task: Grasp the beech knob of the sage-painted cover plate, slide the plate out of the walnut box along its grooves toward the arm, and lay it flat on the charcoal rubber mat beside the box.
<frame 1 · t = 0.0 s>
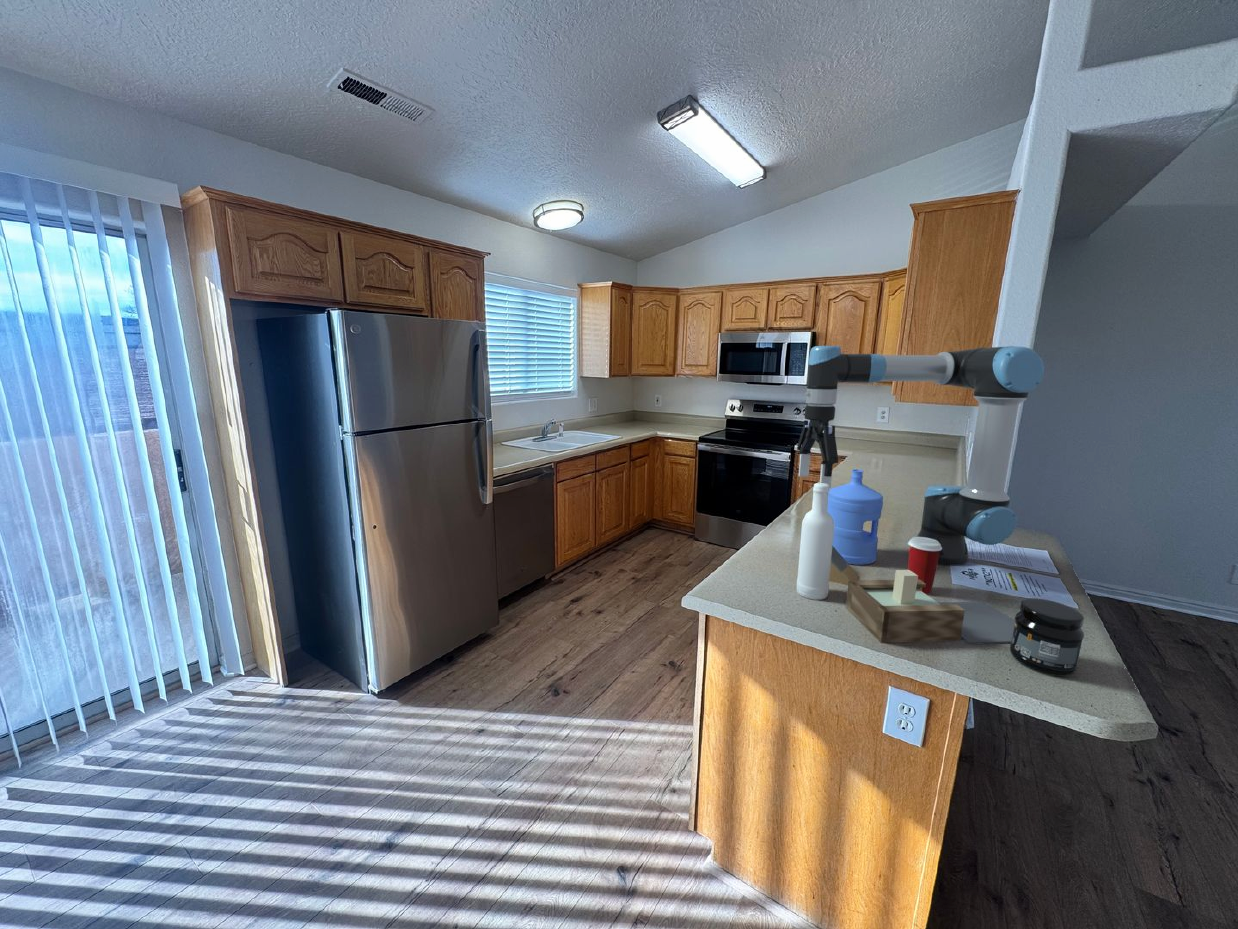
hand: (813, 481, 135), 28 cm above the worktop, fingers open, 13 cm apart
cover plate: (902, 603, 114), point 5 cm above the worktop, touching walnut box
sandwich container: (829, 576, 141), on the worktop
paper cup: (918, 590, 132), on the worktop
walnut box: (899, 623, 115), on the worktop
water jug: (848, 556, 155), on the worktop
bottle: (811, 594, 130), on the worktop
charcoal mat: (977, 621, 116), on the worktop
supplement container: (1040, 663, 100), on the worktop
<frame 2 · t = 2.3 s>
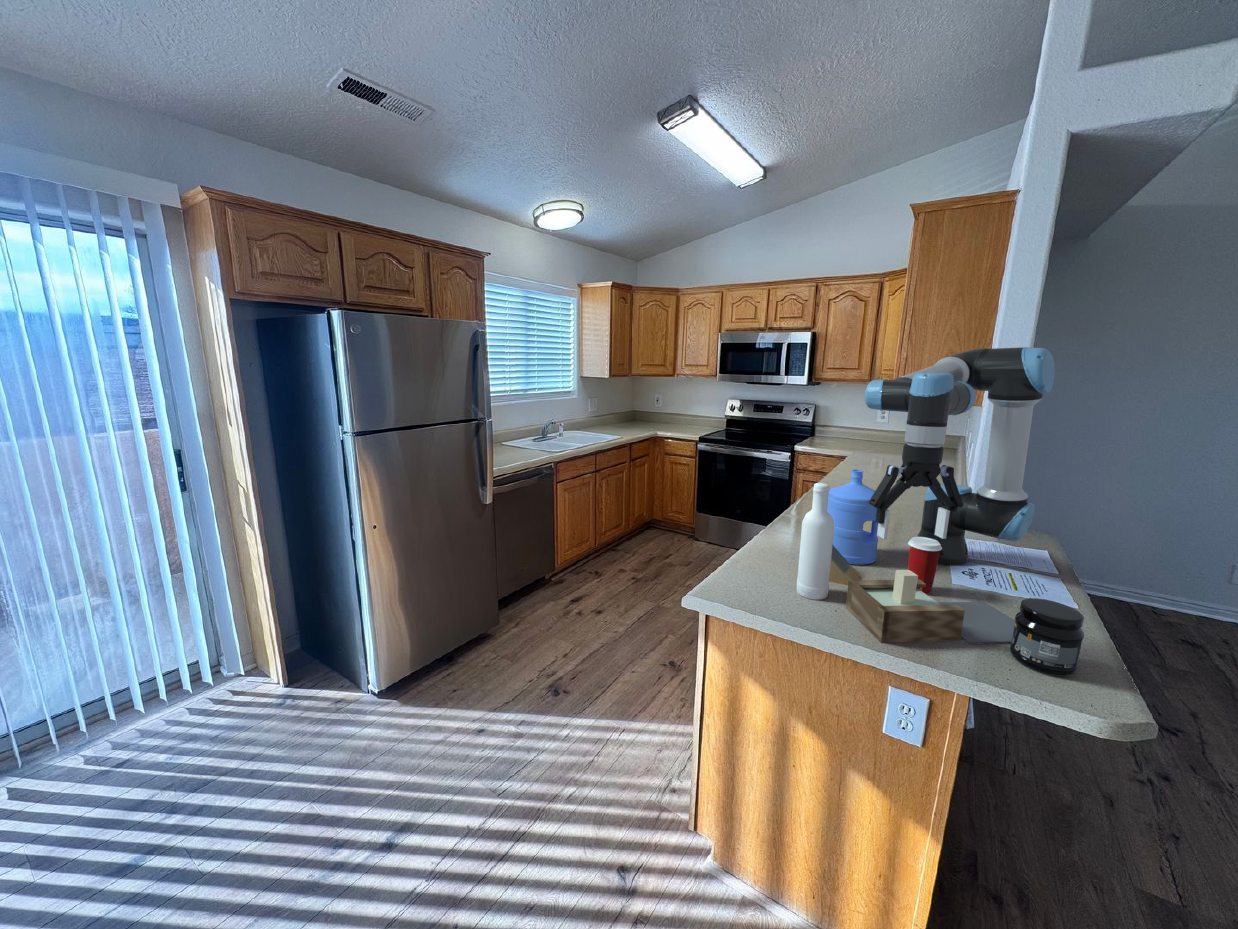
hand: (911, 537, 110), 22 cm above the worktop, fingers open, 13 cm apart
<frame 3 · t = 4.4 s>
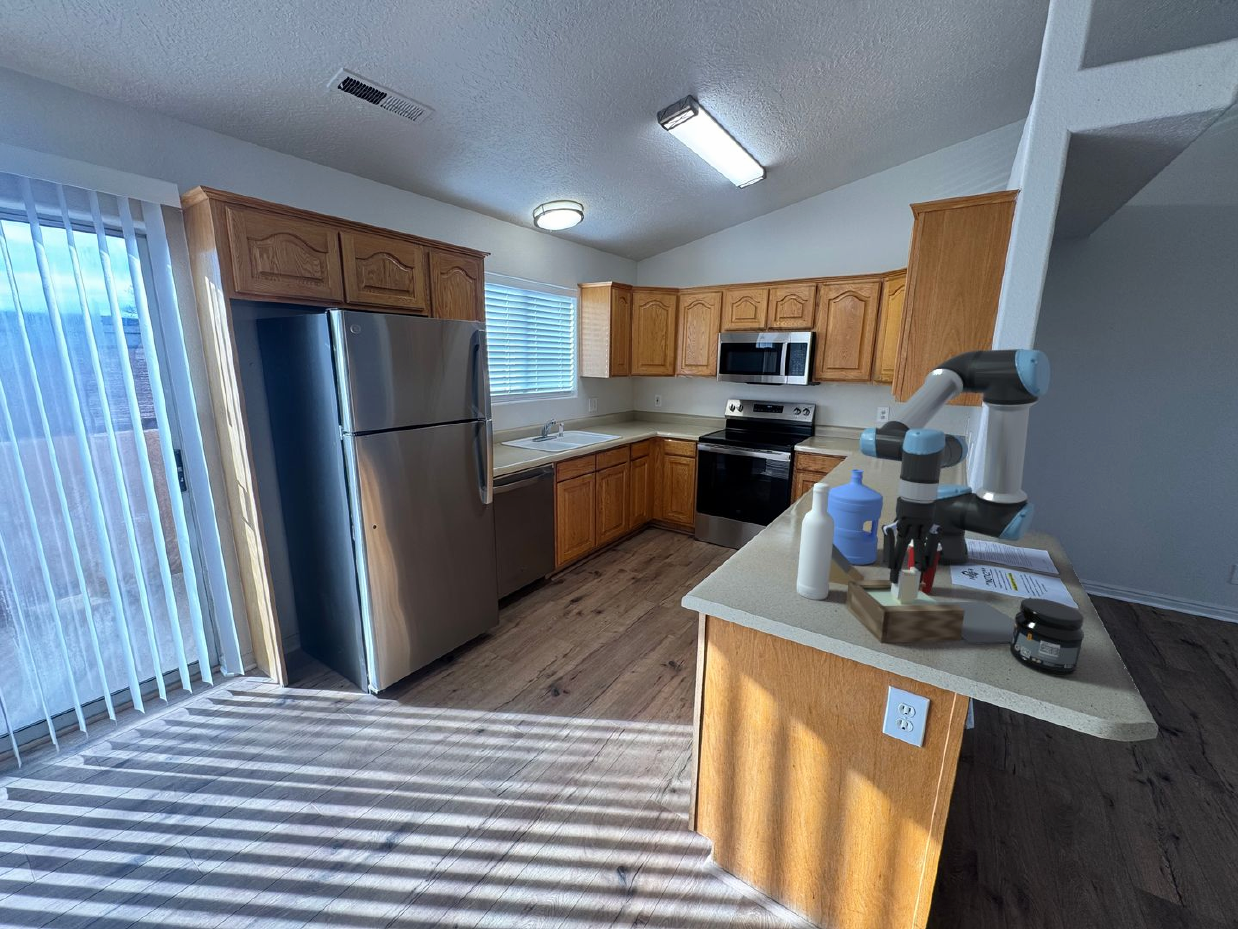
hand: (903, 595, 113), 7 cm above the worktop, fingers closed on cover plate, 3 cm apart
cover plate: (902, 603, 114), point 5 cm above the worktop, touching gripper, walnut box
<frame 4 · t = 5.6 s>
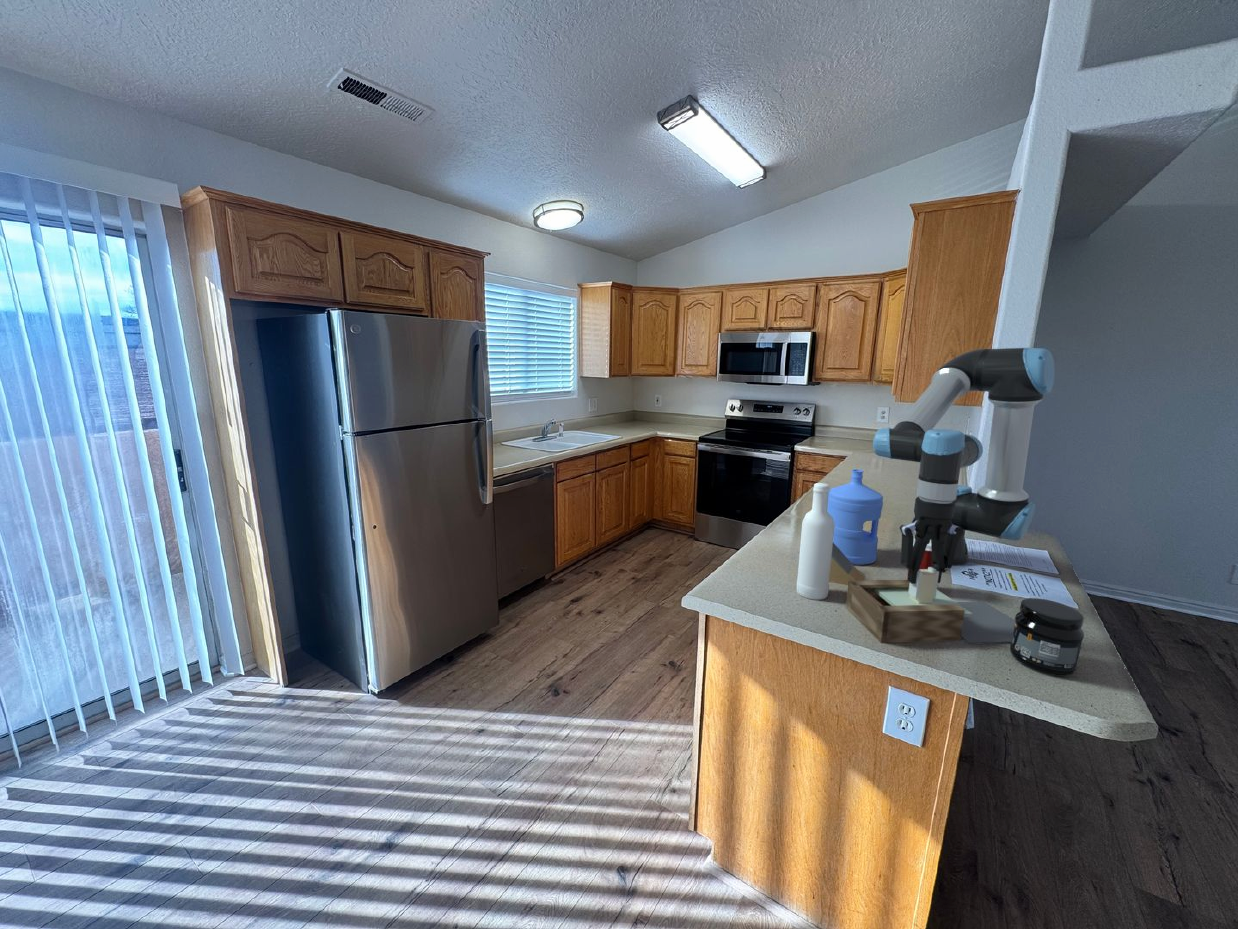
hand: (921, 595, 114), 7 cm above the worktop, fingers closed on cover plate, 3 cm apart
cover plate: (920, 603, 114), point 5 cm above the worktop, touching gripper
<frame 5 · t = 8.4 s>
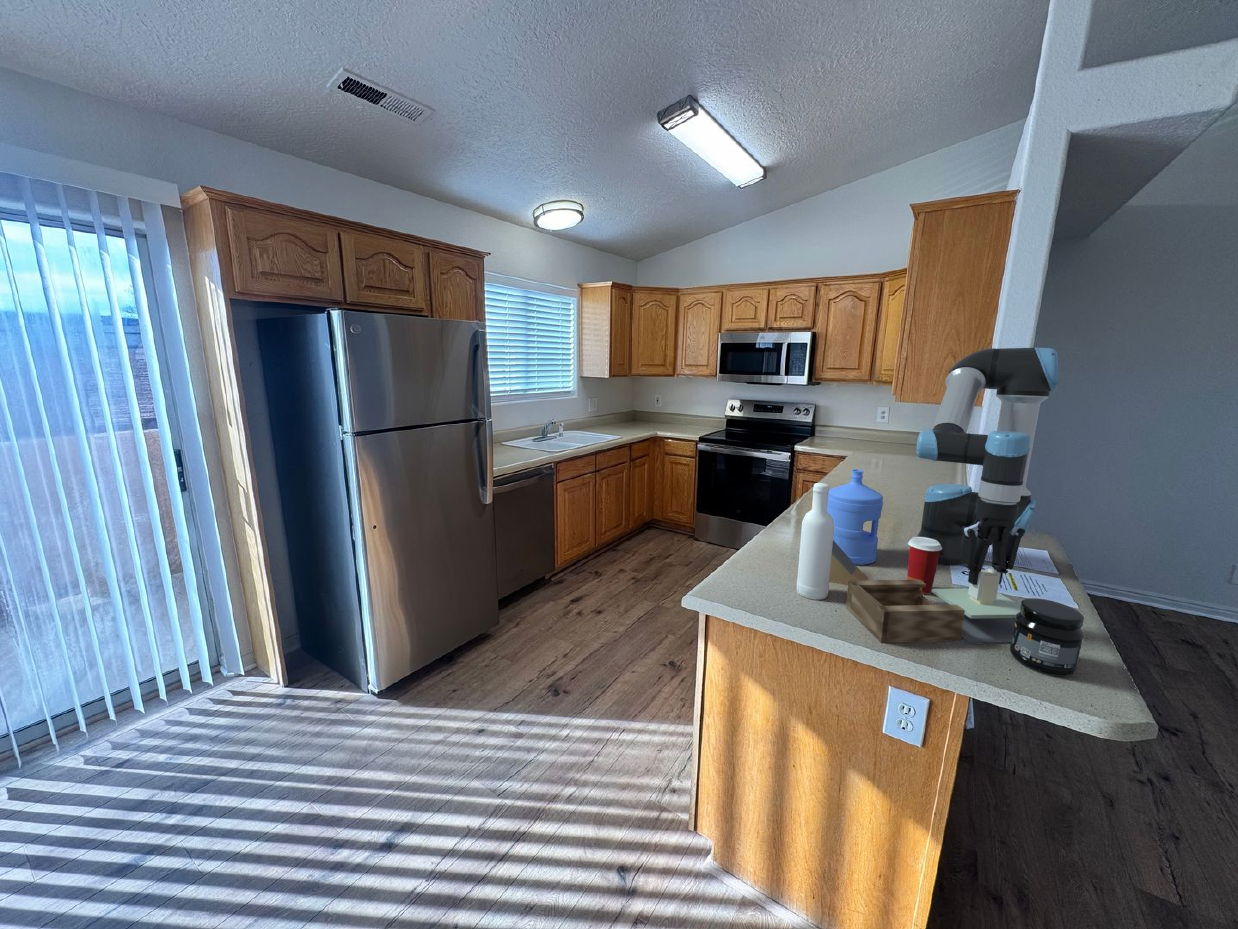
hand: (982, 596, 114), 7 cm above the worktop, fingers closed on cover plate, 3 cm apart
cover plate: (980, 604, 114), point 5 cm above the worktop, touching gripper
when the fingers open (4 cm above the worktop, at t = 9.0 s): cover plate drops 2 cm, resting on charcoal mat.
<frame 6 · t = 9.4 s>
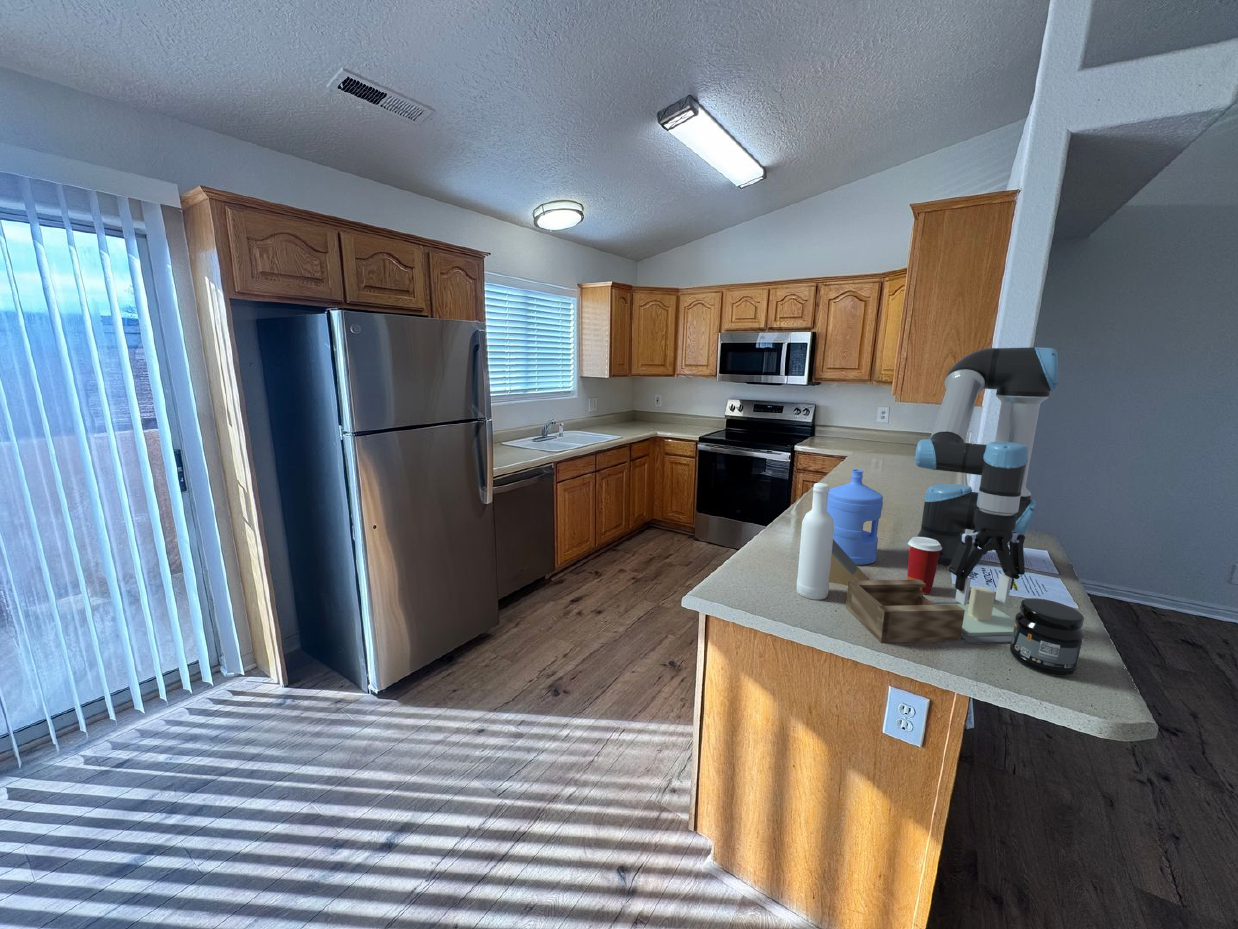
hand: (981, 602, 114), 5 cm above the worktop, fingers open, 9 cm apart
cover plate: (978, 620, 115), resting on charcoal mat
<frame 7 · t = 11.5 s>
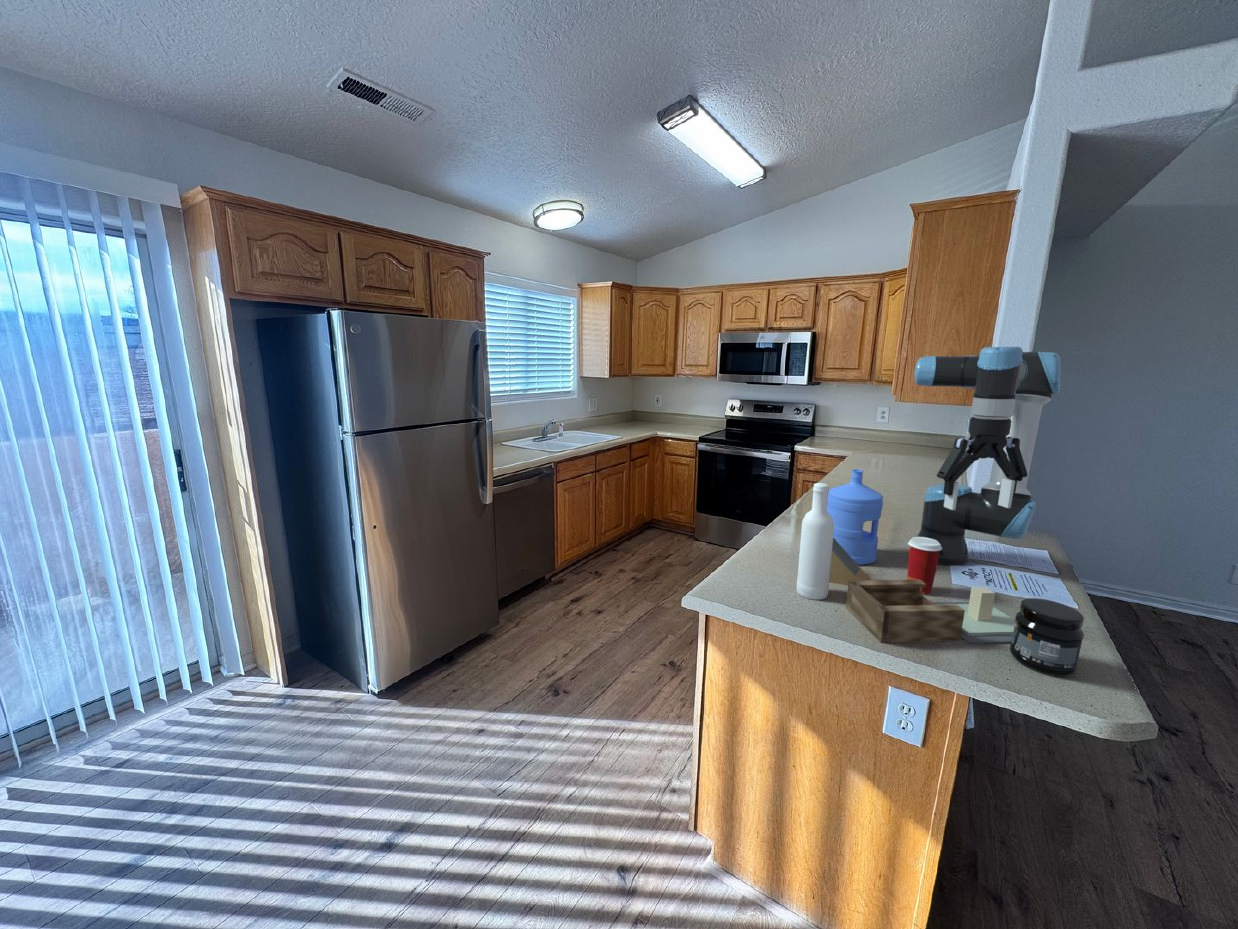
hand: (976, 507, 114), 27 cm above the worktop, fingers open, 13 cm apart
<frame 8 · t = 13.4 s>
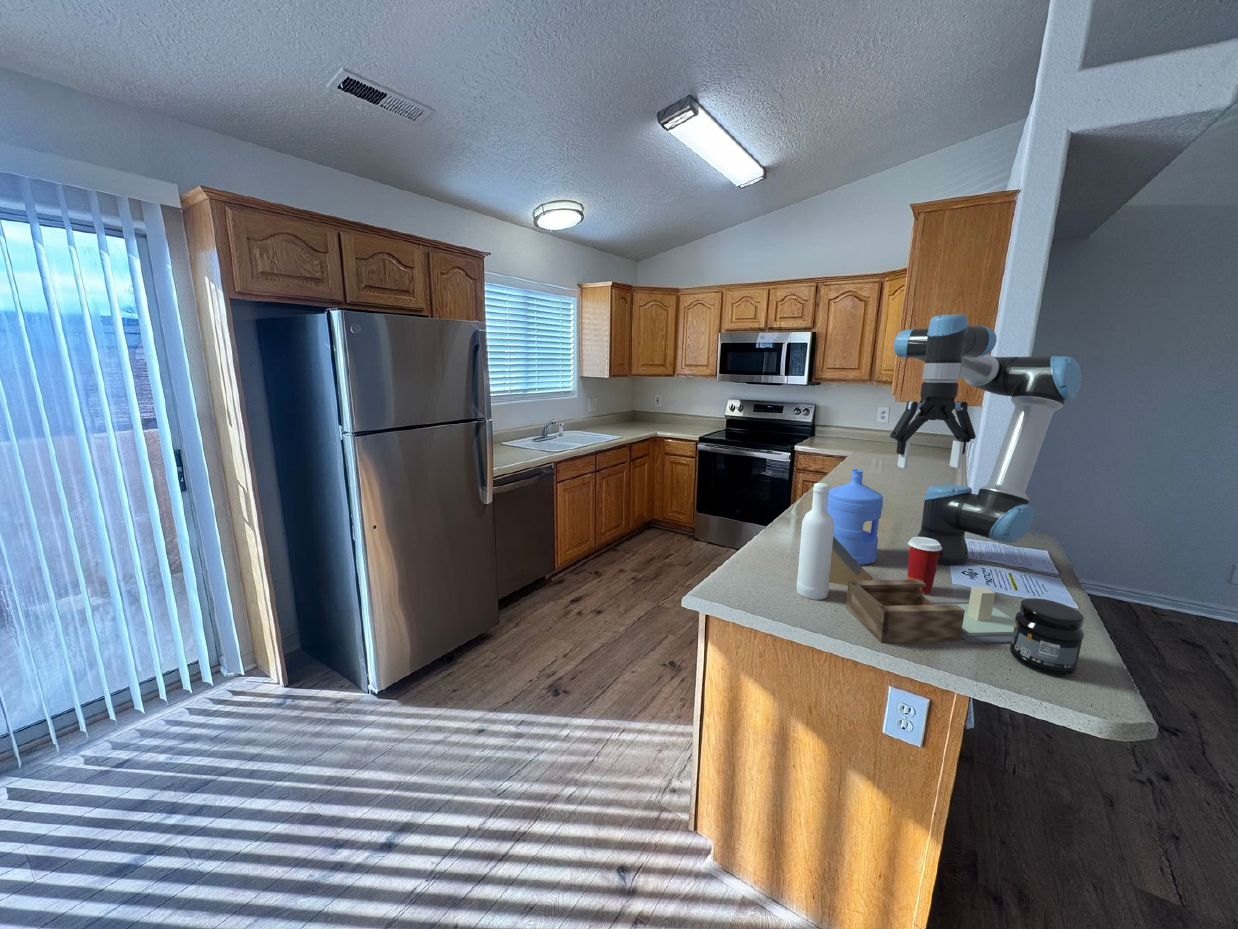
hand: (928, 467, 122), 35 cm above the worktop, fingers open, 13 cm apart
at the end: cover plate inside the target area on the charcoal mat (0.2 cm from its centre), point 0.4 cm above the charcoal mat's base; cover plate touching charcoal mat; cover plate tilted 0° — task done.
